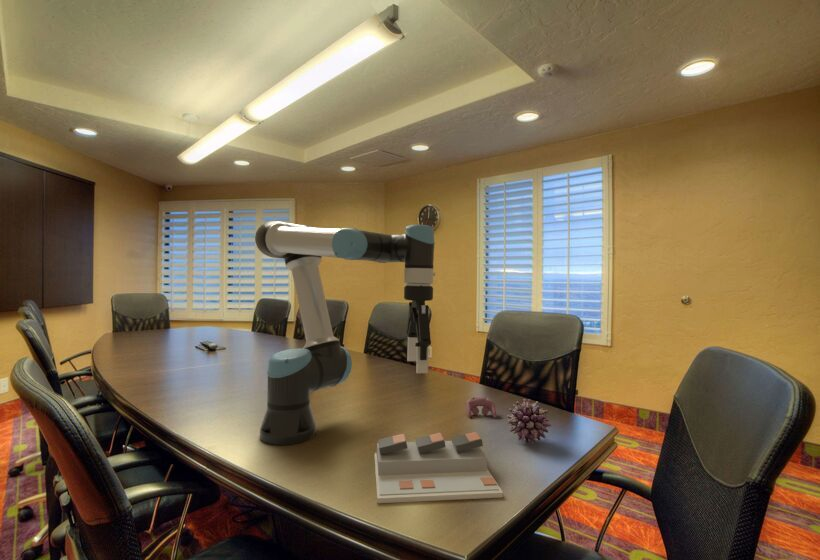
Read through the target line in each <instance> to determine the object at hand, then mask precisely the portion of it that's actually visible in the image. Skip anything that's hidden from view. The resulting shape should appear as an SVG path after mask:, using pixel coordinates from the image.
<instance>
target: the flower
mask: <svg viewBox="0 0 820 560" xmlns="http://www.w3.org/2000/svg"><path fill="white" fill-rule="evenodd" d="M515 403H516V404H512V406H513V409H512V408H510V407H509V408H508V411H509V412H510V413H511V414H507V416H506V417H507V418H508V419H507V424H510V425H511V428H510V429H509V432H511V433H513V435H515V434H517V436H518V438H517V441H521V440H524V439H525V440H524V441H525V443H528V442H529V441H530V444H531V445H533V444H535V439H537V440H538V441H541V438H543V439H545V438H547V436H546V435H545V433H547V434H548V433H549V430H548V429H547V428H548V427H552V424H551V423H548V422H549V421H550V419H549V418H548V417H547V414H548V413H549V411H548V410H547V409H545V410H544V408H543V407H542V408H541V405H540V404H539V401H535V403H532V401H531V399H525V398H523V402H522V403H520V402H519V401H516V402H515Z"/></svg>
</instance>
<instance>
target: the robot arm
mask: <svg viewBox="0 0 820 560" xmlns="http://www.w3.org/2000/svg"><path fill="white" fill-rule="evenodd" d="M434 230H435V229H434V227H433V226H431V225H428V224H409V225H407V226H406V227H405V231H404V233H402V234H385V233H380V232H374V231H367V230H364V229H363V230H362V229H358V228H355V227H354V228H353V227H341V228H326V227H325V228H324V227H313V226H309V224H296V223H291V222H285V221H277V220H271V221H267V222H264V223H262V224H261V225H260V226H259V227H258V229H257V230H256V232H255V235H254V241H255V244H256V248H257V249H258V250H259V251H260V252H261V254H263V255H265V256H267V257H270V258H276V259H283V260H284V263H285V268H286V269H288V270H289V271H291V275H292V279H293V283H294V287H295V288H294V289H295V292H296V299H297V303H298V309H299V312H300V313H299V314H300V318H301V322H302V329H303V332H304V338H305V344H304V345H303V347H301V348H299V347H298V348H296V347H295V348H293V349H292V348H290V349H285V350H281V351H278V352H275V353H274V354H272V355H271V356H270V358H269V360H268V366H267V370H266V371H267V372H266V374H267V396H266V397H267V398H266V399H267V400H266V401H267V403H266V406H267V407H266V411H265V413H264V417H263V420H262V422H261V426H260V428H259V439H260V440H261V441H262V442H264V443H266V444H268V445H269V444H270V445H274V446H284V445H294V444H299V443H302V442H306V441H307V440H309V439H311V438H313V437H314V436H315V435H316V432H317V431H316V427H317V425H316V421H315V418H314V414H313V410H312V408H311V393H313V392H317V391H320V390H323V389H326V388H331V387H335V386H337V385H339V384H342V383H344V382H345V381H346V380H347V379H348V378H349V376H350V374H351V373H352V369H353V368H352V367H353V361H352V356H351V354H350V352H349V350H347V348H346V347H344V346H341V342H340V339H339V338H338V337H336V336H335V335H334V333H333V328H332V324H331V323H332V322H331V319H330V314H329V309H328V305H327V301H326V300H327V299H326V296H325V292H324V286H323V283H322V279H321V274H320V269H319V266H320V264H321V263H322V257H325V258H336V259H342V260H346V261H348V260H349V261H365V262H366V261H367V262H374V263H382V264H387V263H404V268H403V269H404V272H403V275H404V276H403V278H404V279H403V280H404V282H403V283H404V284H406V285H405V286H404V287H403V290H404V291H403V299H404V300H406V301H409V302H408V314H407V315H408V317H407V325H406V331H405V332H406V334H407V352H406V353H407V355H406V356H407V357H406V359H407V362H416V367H415V369H416V374H429V346H431V345H432V341H431V328H430V318H429V317H430V316H429V315H430V314H429V310H430V306H429V304H426V302H429V301H432V300H433V299H434V287H433V286H432V285H433V284H434V277H435V276H436V273H435V272H434V254H435V252H434V251H435V244H436V242H435V231H434Z"/></svg>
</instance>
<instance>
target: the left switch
mask: <svg viewBox="0 0 820 560" xmlns="http://www.w3.org/2000/svg"><path fill="white" fill-rule="evenodd" d="M377 441H378V442H377V443H379V450H380V455H382V454H386V453H391V452H395V451H399V450H403V449H407V443H406V442H407V439H406V435H405V433H400V434H396V435H391V436H387V437H383V438H379V439H378V440H377Z"/></svg>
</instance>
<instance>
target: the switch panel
mask: <svg viewBox="0 0 820 560" xmlns="http://www.w3.org/2000/svg"><path fill="white" fill-rule="evenodd" d="M444 441H445V446H446V447H444V448H440V449H436V450H432V451H428V452H424V453H420V454H419V452H418V448H417V445H416V441H406V443H407V449H403V450H399V451H395V452H391V453H386V454H382V455H380V450H379V442H377V443H376V452H374V471H375V487H376V503H377V504H389V503H393V504H394V503H411V502H413V503H414V502H431V501H433V502H434V501H454V500H456V501H457V500H458V501H459V500H472V499H473V500H474V499H475V500H478V499H495V498H497V499H498V498H503V497H504V492H503V490H502V489H501V487H500V486H499V485H498V482H497V481H496V480H495V478H494V477H493V474H492V473H491V472H490V470H489V468H488V457H487V456H486V454H485V453H484V452H483V450H482V448H481V447H477V448H473V449H469V450H465V451H461V452H457V451H456V450H455V448H454V446H453V444H452V440H444Z"/></svg>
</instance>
